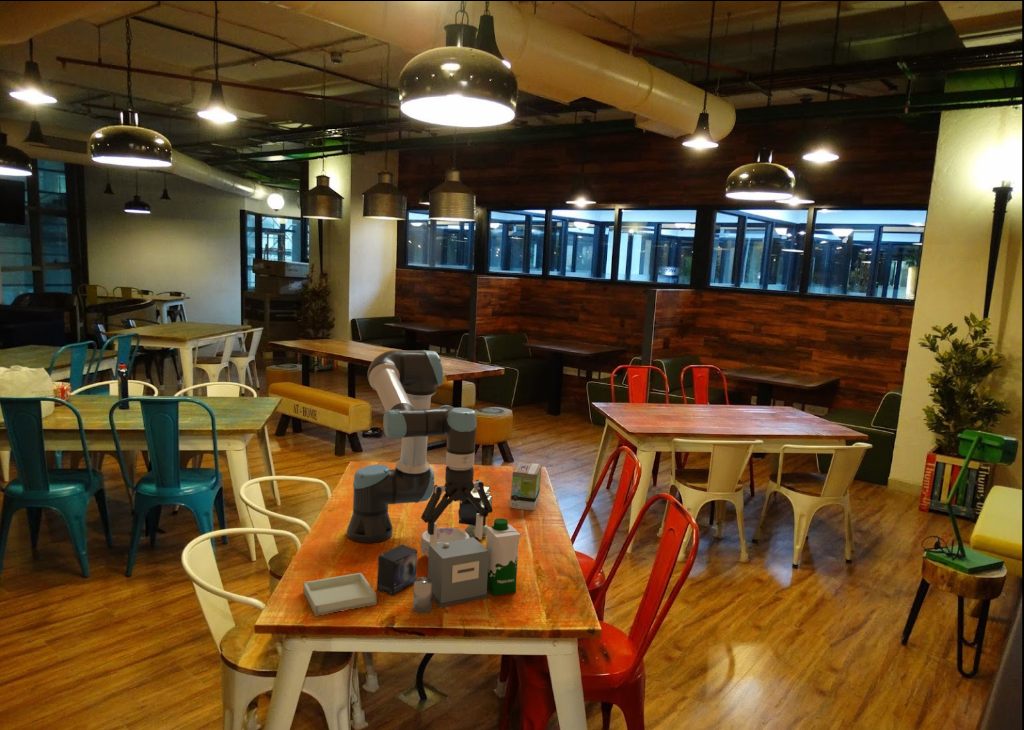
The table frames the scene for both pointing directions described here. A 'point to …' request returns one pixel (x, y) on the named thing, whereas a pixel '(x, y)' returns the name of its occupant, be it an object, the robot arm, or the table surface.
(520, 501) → the tea box
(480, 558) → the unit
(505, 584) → the milk carton
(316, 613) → the tray
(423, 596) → the grey cylinder
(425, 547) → the paper bowls
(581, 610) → the table surface
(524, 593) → the table surface
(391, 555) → the small box
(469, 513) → the ball valve
